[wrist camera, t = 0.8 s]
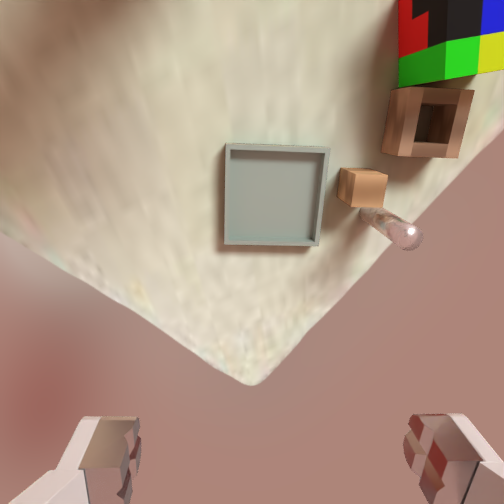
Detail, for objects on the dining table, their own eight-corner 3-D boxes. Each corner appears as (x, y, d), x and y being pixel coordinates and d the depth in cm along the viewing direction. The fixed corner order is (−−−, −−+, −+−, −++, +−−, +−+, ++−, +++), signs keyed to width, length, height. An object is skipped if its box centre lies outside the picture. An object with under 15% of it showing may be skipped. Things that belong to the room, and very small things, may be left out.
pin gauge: (361, 201, 48) (401, 226, 37) (380, 202, 49) (425, 227, 37) (358, 220, 49) (395, 250, 38) (376, 221, 50) (420, 250, 38)
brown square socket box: (391, 90, 43) (411, 86, 39) (448, 93, 44) (474, 90, 39) (380, 152, 46) (397, 156, 41) (434, 154, 47) (457, 158, 42)
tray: (225, 142, 44) (225, 144, 42) (325, 147, 45) (330, 148, 43) (224, 239, 49) (224, 244, 47) (314, 241, 50) (318, 246, 48)
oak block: (340, 167, 47) (355, 174, 41) (369, 168, 47) (388, 175, 41) (336, 196, 48) (350, 206, 42) (364, 197, 48) (382, 207, 43)
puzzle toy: (482, -21, 40) (560, -64, 31) (475, 74, 43) (543, 62, 34) (398, -7, 40) (450, -45, 30) (398, 88, 43) (444, 79, 34)
